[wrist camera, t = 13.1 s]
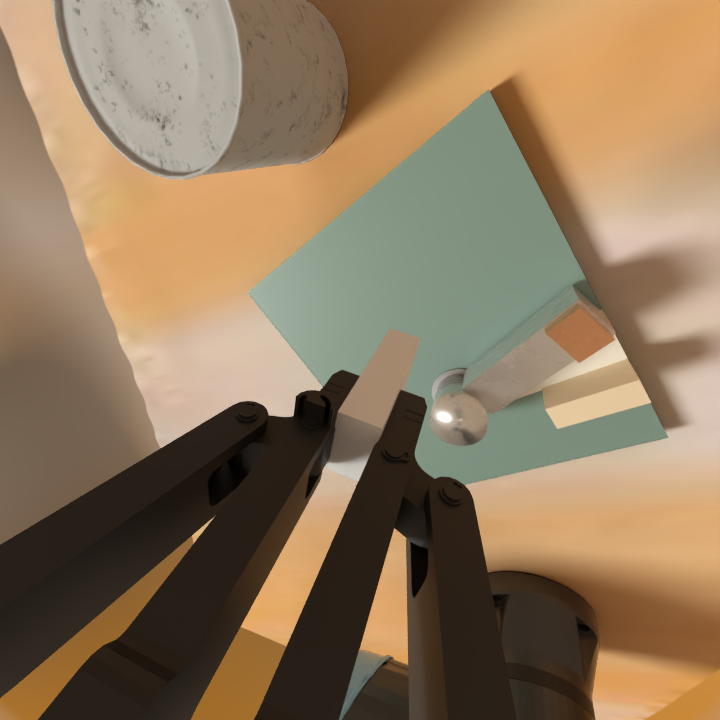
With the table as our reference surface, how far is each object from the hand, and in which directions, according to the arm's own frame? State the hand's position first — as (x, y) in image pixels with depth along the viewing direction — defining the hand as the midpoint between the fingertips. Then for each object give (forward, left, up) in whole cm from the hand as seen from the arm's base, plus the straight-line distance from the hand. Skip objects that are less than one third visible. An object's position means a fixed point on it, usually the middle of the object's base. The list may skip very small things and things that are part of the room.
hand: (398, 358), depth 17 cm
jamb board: (-7, -1, -14) cm, 16 cm away
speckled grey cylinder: (+12, +12, -14) cm, 22 cm away
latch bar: (-6, -6, -12) cm, 15 cm away
